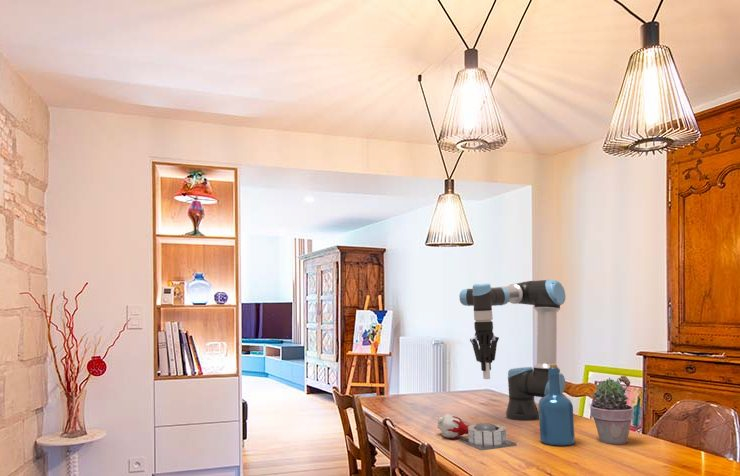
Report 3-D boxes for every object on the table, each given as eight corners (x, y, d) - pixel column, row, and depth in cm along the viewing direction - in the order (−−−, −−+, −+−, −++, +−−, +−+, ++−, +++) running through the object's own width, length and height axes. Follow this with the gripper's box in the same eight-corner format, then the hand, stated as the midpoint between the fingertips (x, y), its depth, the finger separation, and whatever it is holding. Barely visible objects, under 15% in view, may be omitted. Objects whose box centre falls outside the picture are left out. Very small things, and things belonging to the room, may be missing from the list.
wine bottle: (571, 448, 212) (566, 366, 216) (535, 444, 219) (531, 365, 222) (579, 440, 224) (574, 363, 227) (545, 436, 231) (541, 361, 234)
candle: (437, 432, 241) (472, 438, 236) (431, 437, 230) (468, 445, 225) (439, 410, 241) (474, 416, 236) (433, 415, 231) (470, 421, 226)
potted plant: (575, 439, 226) (571, 375, 228) (612, 433, 233) (608, 372, 236) (610, 450, 209) (606, 380, 212) (649, 443, 217) (644, 377, 219)
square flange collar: (492, 436, 233) (492, 422, 233) (516, 445, 218) (515, 429, 219) (458, 440, 227) (458, 425, 227) (481, 450, 212) (480, 434, 213)
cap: (489, 437, 227) (489, 422, 228) (499, 442, 220) (499, 426, 221) (472, 439, 225) (472, 424, 225) (482, 444, 218) (481, 428, 218)
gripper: (491, 319, 242) (494, 376, 239) (465, 321, 236) (468, 379, 234) (501, 320, 235) (505, 378, 233) (475, 322, 230) (478, 381, 227)
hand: (486, 378), depth 233 cm, fingers closed
